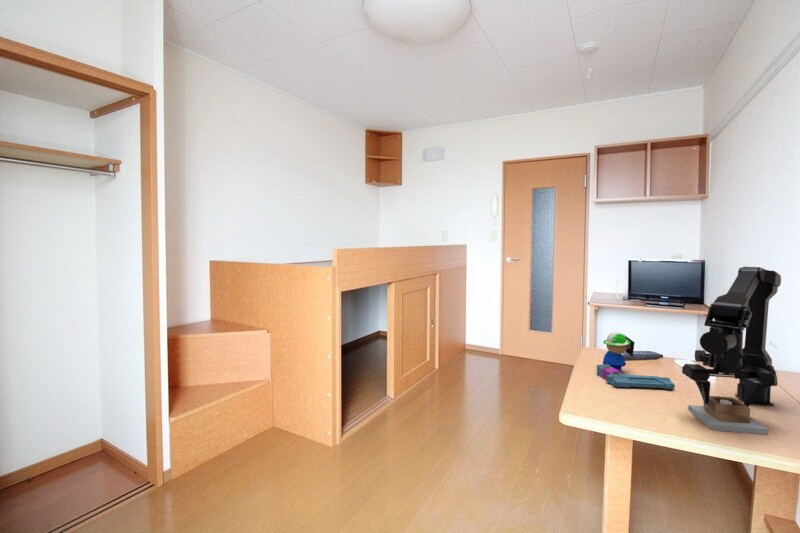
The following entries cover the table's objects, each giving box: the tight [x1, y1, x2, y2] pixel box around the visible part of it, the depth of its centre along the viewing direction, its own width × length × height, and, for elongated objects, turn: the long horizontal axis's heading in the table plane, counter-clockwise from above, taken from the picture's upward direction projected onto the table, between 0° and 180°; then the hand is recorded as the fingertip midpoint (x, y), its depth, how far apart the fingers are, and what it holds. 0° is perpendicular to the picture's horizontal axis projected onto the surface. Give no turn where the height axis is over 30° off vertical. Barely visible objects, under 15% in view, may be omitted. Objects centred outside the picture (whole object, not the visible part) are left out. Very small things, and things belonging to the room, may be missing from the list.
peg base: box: [687, 400, 769, 436], centre depth 101 cm, size 12×12×6 cm
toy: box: [602, 331, 635, 373], centre depth 141 cm, size 9×9×15 cm
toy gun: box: [596, 363, 676, 390], centre depth 131 cm, size 4×20×15 cm
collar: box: [702, 395, 751, 423], centre depth 101 cm, size 7×7×4 cm
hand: (725, 405), depth 101 cm, fingers open, 9 cm apart
